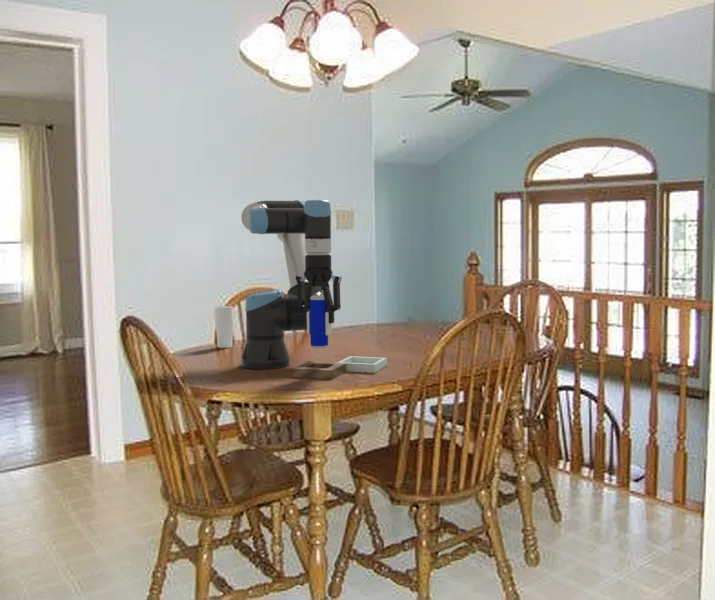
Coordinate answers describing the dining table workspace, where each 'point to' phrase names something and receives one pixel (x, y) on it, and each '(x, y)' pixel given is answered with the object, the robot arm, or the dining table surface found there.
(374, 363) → the tray
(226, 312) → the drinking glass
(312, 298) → the beverage can
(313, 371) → the socket block
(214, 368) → the dining table surface
